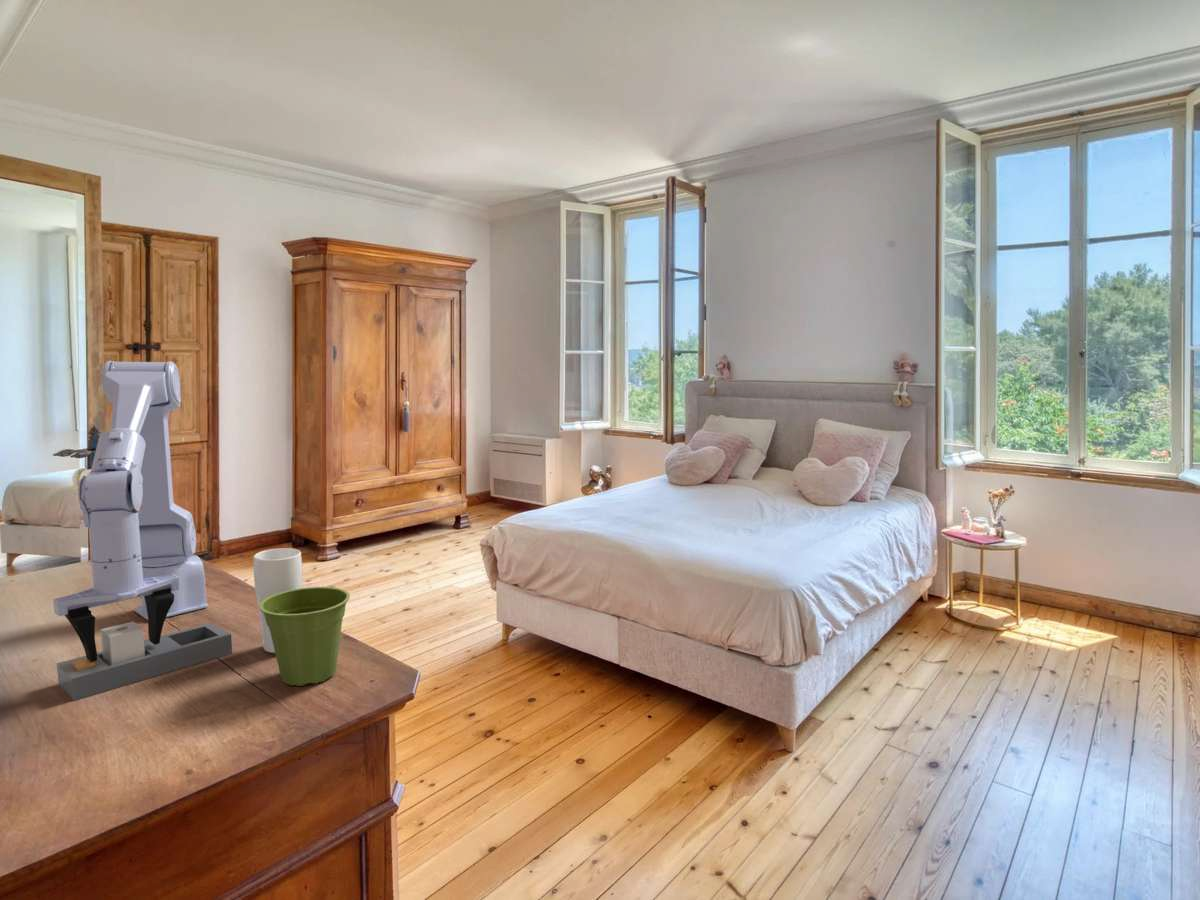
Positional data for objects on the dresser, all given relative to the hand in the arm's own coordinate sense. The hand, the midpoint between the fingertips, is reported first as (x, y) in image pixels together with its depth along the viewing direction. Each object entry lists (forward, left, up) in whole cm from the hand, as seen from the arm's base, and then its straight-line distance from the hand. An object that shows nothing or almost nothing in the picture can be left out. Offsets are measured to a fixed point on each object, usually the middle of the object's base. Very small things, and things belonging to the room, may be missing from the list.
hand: (124, 650), depth 100 cm
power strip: (-3, 0, -4) cm, 5 cm away
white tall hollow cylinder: (-19, +7, -4) cm, 21 cm away
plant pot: (-17, +19, -4) cm, 26 cm away
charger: (0, 0, -3) cm, 3 cm away
